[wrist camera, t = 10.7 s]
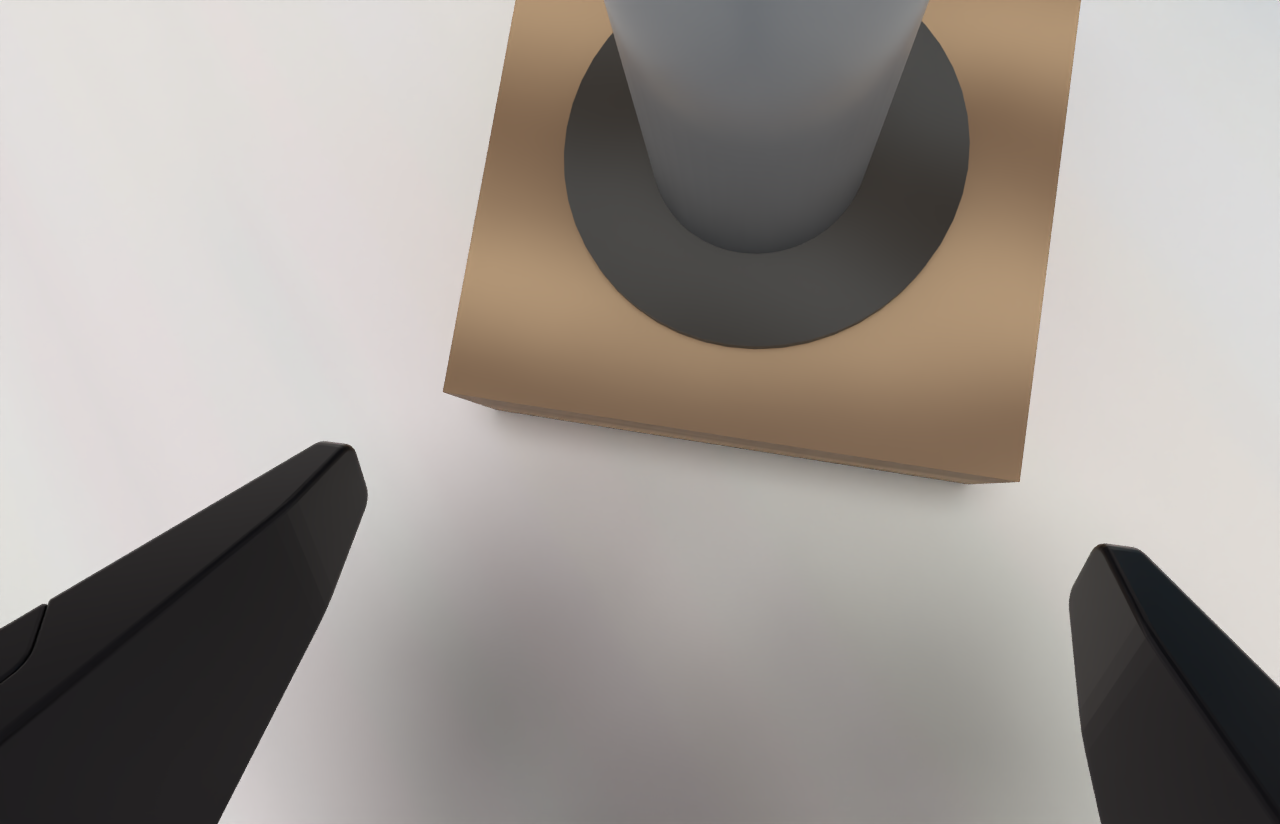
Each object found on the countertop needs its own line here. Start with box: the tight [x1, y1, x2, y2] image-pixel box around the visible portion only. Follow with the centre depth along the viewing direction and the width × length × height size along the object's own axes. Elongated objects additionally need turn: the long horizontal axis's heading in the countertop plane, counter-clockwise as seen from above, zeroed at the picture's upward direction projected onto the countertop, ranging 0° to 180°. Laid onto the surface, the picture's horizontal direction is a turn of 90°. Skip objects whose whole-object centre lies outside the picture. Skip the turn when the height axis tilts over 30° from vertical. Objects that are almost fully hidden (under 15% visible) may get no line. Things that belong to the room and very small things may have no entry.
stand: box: [443, 0, 1081, 484], centre depth 20 cm, size 13×13×4 cm
